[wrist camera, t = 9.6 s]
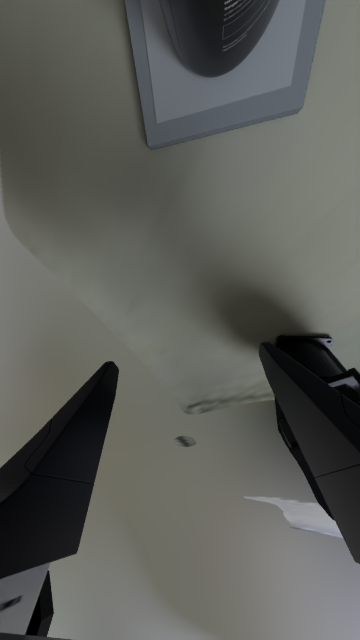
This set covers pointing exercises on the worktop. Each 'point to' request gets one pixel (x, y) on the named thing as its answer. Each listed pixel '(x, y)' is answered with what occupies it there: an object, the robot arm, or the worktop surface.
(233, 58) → the supplement bottle
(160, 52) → the plate
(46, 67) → the worktop surface
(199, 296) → the worktop surface
